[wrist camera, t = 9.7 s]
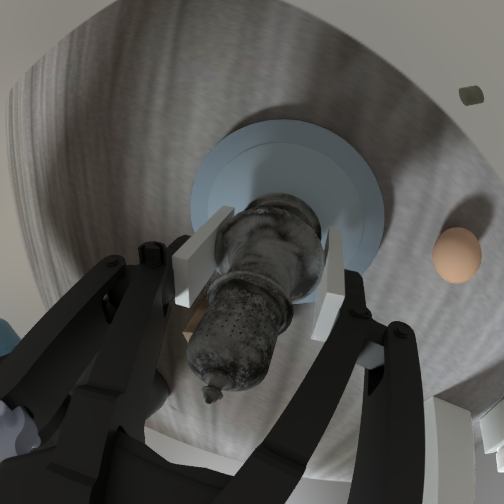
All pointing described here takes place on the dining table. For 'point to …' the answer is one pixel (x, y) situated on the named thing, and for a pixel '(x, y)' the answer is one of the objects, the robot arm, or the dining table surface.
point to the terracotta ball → (457, 255)
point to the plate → (295, 182)
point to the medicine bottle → (494, 433)
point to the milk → (448, 454)
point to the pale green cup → (471, 95)
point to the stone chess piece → (255, 291)
